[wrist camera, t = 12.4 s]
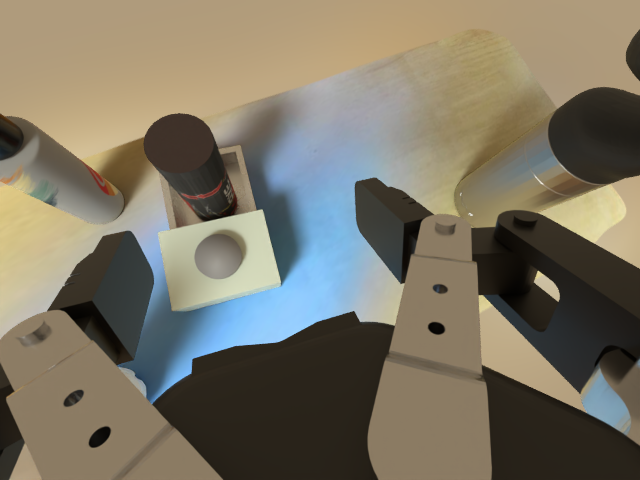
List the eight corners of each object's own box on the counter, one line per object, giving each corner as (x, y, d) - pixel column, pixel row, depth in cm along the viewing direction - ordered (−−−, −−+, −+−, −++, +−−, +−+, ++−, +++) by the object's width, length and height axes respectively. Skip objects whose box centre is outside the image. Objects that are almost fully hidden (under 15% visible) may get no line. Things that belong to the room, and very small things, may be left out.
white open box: (243, 158, 45) (240, 144, 41) (260, 224, 43) (258, 216, 39) (167, 173, 43) (156, 160, 39) (180, 242, 41) (170, 235, 37)
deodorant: (238, 221, 42) (215, 171, 27) (192, 224, 41) (142, 175, 26) (236, 180, 43) (212, 112, 28) (191, 183, 42) (144, 114, 28)
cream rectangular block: (265, 223, 43) (262, 206, 36) (280, 286, 41) (280, 281, 34) (175, 244, 41) (154, 230, 34) (188, 311, 39) (168, 310, 32)
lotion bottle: (109, 176, 42) (-38, 59, 22) (134, 208, 41) (4, 115, 22) (69, 201, 40) (-124, 98, 21) (94, 234, 40) (-81, 159, 21)
